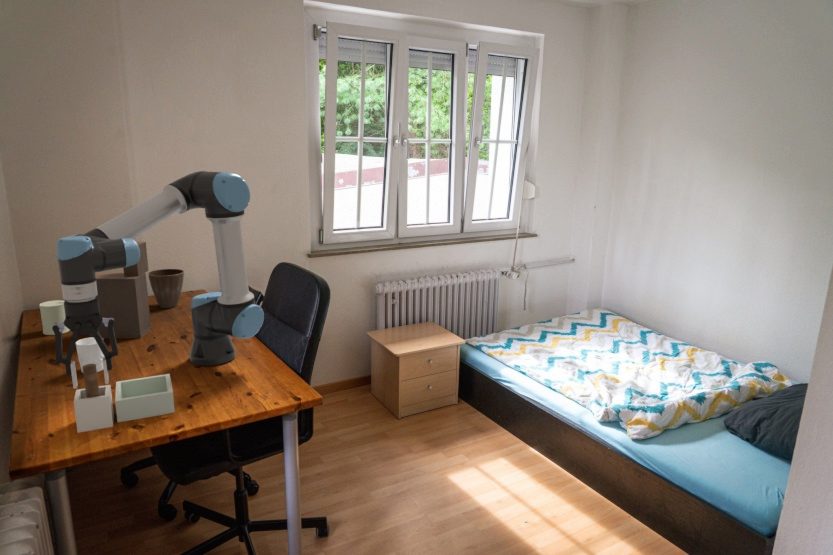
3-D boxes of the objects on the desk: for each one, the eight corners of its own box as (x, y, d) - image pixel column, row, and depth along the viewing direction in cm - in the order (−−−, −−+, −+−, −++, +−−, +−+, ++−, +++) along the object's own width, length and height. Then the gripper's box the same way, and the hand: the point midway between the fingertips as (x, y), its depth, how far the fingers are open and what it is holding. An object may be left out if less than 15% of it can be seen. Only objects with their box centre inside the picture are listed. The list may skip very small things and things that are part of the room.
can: (68, 333, 222) (64, 304, 219) (40, 336, 219) (36, 306, 216) (72, 326, 231) (68, 298, 228) (45, 329, 227) (41, 300, 224)
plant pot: (180, 300, 271) (177, 267, 268) (191, 307, 260) (188, 272, 257) (147, 305, 262) (143, 271, 258) (156, 312, 251) (153, 277, 247)
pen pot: (114, 416, 156) (110, 384, 153) (113, 429, 149) (109, 396, 146) (80, 422, 152) (76, 389, 150) (78, 436, 145) (73, 401, 143)
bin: (171, 395, 169) (169, 373, 167) (175, 415, 157) (172, 392, 155) (118, 404, 163) (116, 381, 161) (117, 425, 151) (115, 401, 149)
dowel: (103, 419, 152) (96, 363, 148) (102, 424, 149) (95, 367, 146) (90, 421, 151) (83, 364, 147) (89, 426, 148) (82, 368, 145)
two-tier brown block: (155, 326, 232) (147, 241, 224) (141, 337, 218) (132, 248, 210) (107, 326, 231) (97, 241, 223) (89, 338, 217) (78, 247, 209)
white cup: (76, 375, 183) (72, 346, 180) (83, 366, 190) (79, 338, 188) (103, 373, 185) (99, 344, 183) (109, 364, 192) (105, 336, 190)
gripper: (32, 306, 135) (45, 396, 140) (124, 298, 143) (133, 383, 149) (37, 299, 142) (49, 385, 147) (124, 291, 150) (133, 373, 155)
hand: (91, 384), depth 148 cm, fingers open, 6 cm apart
